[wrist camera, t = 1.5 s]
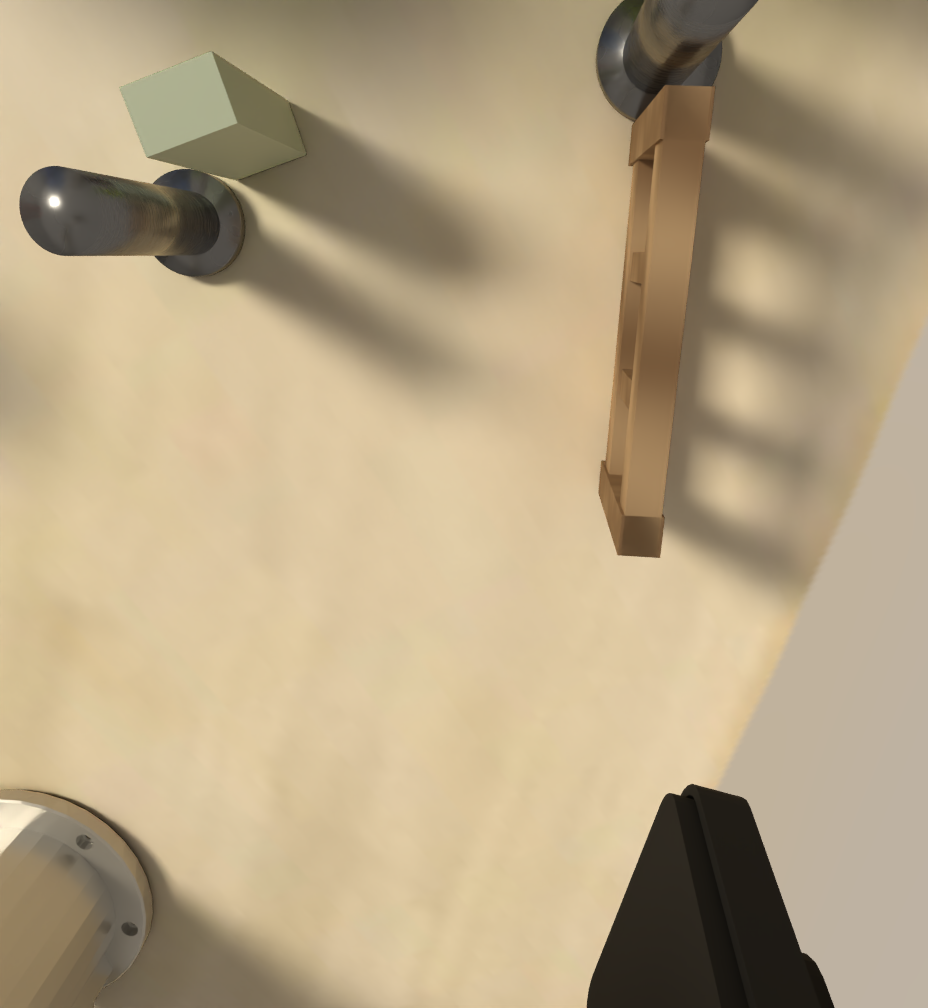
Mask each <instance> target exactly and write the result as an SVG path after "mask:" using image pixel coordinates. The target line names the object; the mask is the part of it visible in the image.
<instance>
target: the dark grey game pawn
mask: <svg viewBox="0 0 928 1008" xmlns="http://www.w3.org/2000/svg"><path fill="white" fill-rule="evenodd" d="M20 214H21V218H22V221H23V224H24V226H25V228H26V230H27V232H28V233H29V235H30V236H31V238H32V239H33V240H34V241H35V242H36V243H37V244H38V245H39V246H41V247H42V248H43V249H45V250H47V251H49V252H51V253H53V254H57V255H62V256H155V257H156V258H157V259H158V260H159V261H160V262H161V263H162V264H163V265H164V266H166V267H167V268H169V269H170V270H172V271H174V272H176V273H179V274H182V275H186V276H207V275H212V274H216V273H218V272H220V271H222V270H224V269H225V268H227V267H228V266H229V265H230V264H231V263H232V262H233V261H234V260H235V259H236V257H237V256H238V254H239V252H240V250H241V248H242V245H243V241H244V236H245V220H244V215H243V211H242V208H241V206H240V203H239V201H238V200H237V198H236V196H235V195H234V193H233V192H232V191H231V189H230V188H229V187H228V186H227V185H226V184H225V183H223V182H222V181H221V180H219V179H218V178H216V177H215V176H212V175H210V174H208V173H205V172H201V171H197V170H192V169H179V170H174V171H171V172H168V173H166V174H164V175H163V176H161V177H160V178H158V179H157V180H156V181H155V182H154V183H153V184H150V183H145V182H139V181H134V180H129V179H124V178H118V177H113V176H108V175H103V174H97V173H92V172H87V171H81V170H76V169H71V168H66V167H60V166H50V167H45V168H42V169H40V170H38V171H36V172H35V173H33V174H32V175H31V176H30V177H29V178H28V180H27V181H26V183H25V184H24V186H23V189H22V191H21V195H20Z"/></svg>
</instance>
